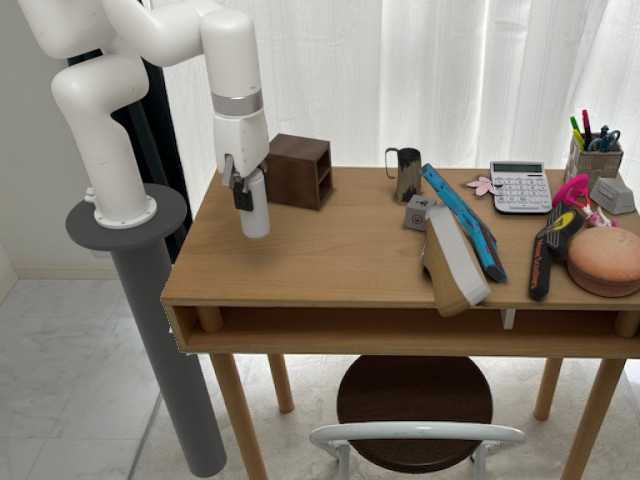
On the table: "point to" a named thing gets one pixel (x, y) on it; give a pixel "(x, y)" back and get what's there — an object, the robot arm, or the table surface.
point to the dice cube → (418, 211)
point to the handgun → (468, 223)
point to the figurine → (572, 193)
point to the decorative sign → (552, 245)
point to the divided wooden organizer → (299, 171)
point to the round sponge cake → (605, 261)
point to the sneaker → (451, 263)
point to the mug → (407, 174)
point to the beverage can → (256, 208)
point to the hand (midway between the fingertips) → (252, 199)
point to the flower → (482, 186)
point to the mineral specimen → (613, 195)
